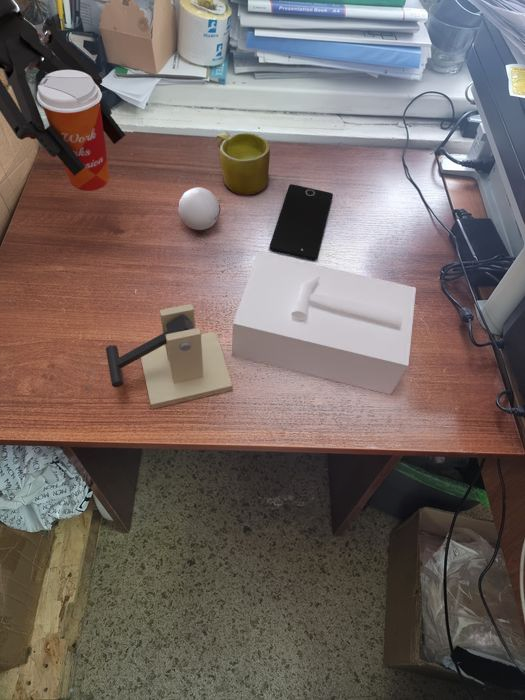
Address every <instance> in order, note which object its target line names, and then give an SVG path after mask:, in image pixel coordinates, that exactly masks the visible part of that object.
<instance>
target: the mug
mask: <svg viewBox="0 0 525 700" xmlns="http://www.w3.org/2000/svg"><path fill="white" fill-rule="evenodd" d="M216 143H217V146H218V148H219V160H220V166H221V171H222V175H223V181H224V183H225V185H226V186H227V188H229V189H228V190H231V191H232V192H234V193H235V194H238V195H243V196H246V195H254V194H257V193H259V192H261V191H263V190H264V189H265V187H267V185H268V183H269V179H270V174H269V170H270V159H271V158H270V157H271V146H270V144H269V142H268V141H267V140H266V139H265V138H264V137H263V136H260V135H258V134H256V133H251V132H241V133H236V134H234V135H232V136H231V134H230V133H229V132H227V131H223V132H221V133H219V134H217V135H216Z"/></svg>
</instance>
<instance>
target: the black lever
mask: <svg viewBox="0 0 525 700" xmlns="http://www.w3.org/2000/svg"><path fill="white" fill-rule="evenodd" d="M166 328H167V331H166V332H164V333H163V332H162V333H161V334H158V335H157V336H156V337H154V338H152V339H150V340H148V341H146V342H145V343H143V344H141V345H139V346H138V347H135V348H134V349H132V350H130V351H128V352H126V353H125V354H123V355H121V356H120V355H119V349H118V346H117V345H115V344H111V345H108V346H106V348H105V353H106V359H107V365H108V370H109V371H108V372H109V377H110V382H111V387H113V388H120V387H122V386H124V384H125V383H124V377H123V371H122V369H123V368H124V367H127V366H128V365H130V364H132V363H134V362H136V361H138V360H139V359H141V357H143V356H145V355H147V354H148V353H150V352H152V351H154V350H156V349H158V348H159V347H161V346H163V345H165V344H167V341H166V334H171V333H176V332H180V331H185V330H190V329H194V326H193V322H192V321H190V320H189V319H188V318H187V317H185V316H184V315H181V316H180V317H178V318H176V319H174V320H173V321H171V322H169V323H167V324H166Z"/></svg>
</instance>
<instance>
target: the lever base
mask: <svg viewBox="0 0 525 700" xmlns="http://www.w3.org/2000/svg"><path fill="white" fill-rule="evenodd" d="M159 315H160V316H159V317H160V321H161V328H162V334H163V333H164V332H166V331H167V328H166V324H167V323H169V322H171V321H173V320H174V319H176V318H178V317H180V316H181V315H184V316H185V317H187V318H188V319H189V320H190V321H192V322H193V326H194V329H190V330H185V331H180V332H176V333H171V334H166V341H167V344H165V345H163V346H161V347H159V348H158V349H156V350H154V351H152V352H150V353H148V354H147V355H145V356H143V357H141V358H140V361H141V365H142V371H143V376H144V380H145V385H146V389H147V395H148V398H149V400H148V401H149V404H150V408H151V410H154V409H159V408H163V407H166V406H167V407H168V406H171V405H175V404H180V403H184V402H189V401H193V400H197V399H202V398H205V397H209V396H215V395H218V394H222V393H226V392H231V391H233V387H234V386H233V385H234V384H233V382H232V379H231V376H230V373H229V370H228V369H229V368H228V366H227V363H226V360H225V356H224V353H223V349H222V347H221V344H220V341H219V337H218V334H217V331H216V330H215V331H210V332H206V333H202V332H201V328H200V327H196V319H195V318H196V317H195V308H194V305H193V303H190V304H183V305H178V306H174V307H169V308H164V309H159Z"/></svg>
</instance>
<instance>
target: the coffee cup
mask: <svg viewBox="0 0 525 700" xmlns="http://www.w3.org/2000/svg"><path fill="white" fill-rule="evenodd" d="M99 87H100V86H99ZM99 87H98V86H97V85H96V84H95V82H94V81H93V79H92V77H91V76H90V75H88V74H86V73H84V72H81V71H77V70H60V71H55V72H52V73H49V74H48V73H47V74H45V75H44V77H43V78H42V79H41V81H40V82H39V83H38V85H37V92H36V99H37V102H38V103H39V104H40V106H42V109H43V111H44V114H45V117H46V120H47V122H48V126H52V127H53V128H54V129H55V130H56V132H57V133H58V134H59V135H60V137H61V138H62V139H63V140H64V141H65V143H66V144H67V145H68V146H69V147H70V149H71V150H72V151H73V152H74V153H75V155H76V156H77V157H78V158H79V159H80V161H81V162H82V163H83V164H84V165H85V168H84V169H83V170H81V171H80V172H79V173H78V174H76V175H75V176H74V175H73V174H72V173H71V171H70V170H69V169H68V168H67V167H66V165H65V164H64V163H63V162H62V164H63V167H64V169H65V172H66V174H67V178H68V179H69V182H70V184H71V185H72V187H74V188H75V189H77V190H80V191H83V192H93V191H98V190H99V189H102V188H104V187H105V186H106V185H107V184H108V182H109V180H110V171H109V170H110V169H109V162H108V161H109V160H108V154H107V146H106V137H105V132H104V131H103V123H102V116H101V108H100V100H101V98H102V99H103V94H102V91H101V88H100V89H99Z"/></svg>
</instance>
